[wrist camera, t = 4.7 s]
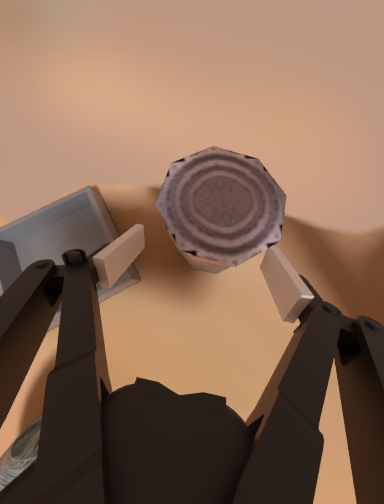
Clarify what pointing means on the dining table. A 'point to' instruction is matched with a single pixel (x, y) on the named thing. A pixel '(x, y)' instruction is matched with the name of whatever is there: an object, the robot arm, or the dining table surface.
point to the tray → (60, 239)
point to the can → (220, 208)
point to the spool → (20, 453)
